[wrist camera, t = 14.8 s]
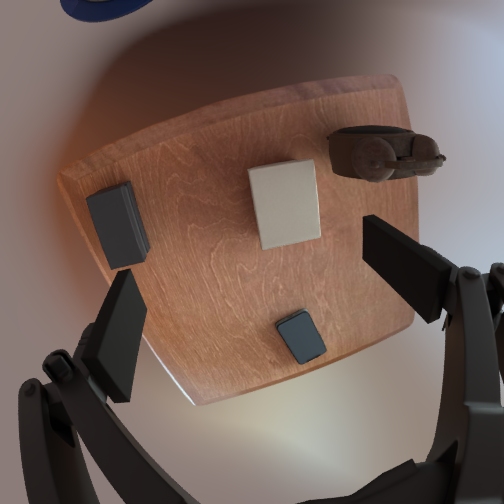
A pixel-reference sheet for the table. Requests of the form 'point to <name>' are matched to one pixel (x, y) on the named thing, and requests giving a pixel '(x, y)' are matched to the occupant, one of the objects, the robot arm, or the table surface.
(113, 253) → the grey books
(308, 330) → the smartphone
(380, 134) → the alarm clock
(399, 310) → the table surface
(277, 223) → the light grey rectangular slab
